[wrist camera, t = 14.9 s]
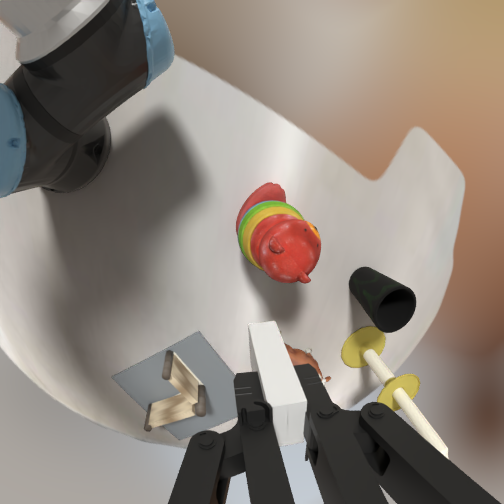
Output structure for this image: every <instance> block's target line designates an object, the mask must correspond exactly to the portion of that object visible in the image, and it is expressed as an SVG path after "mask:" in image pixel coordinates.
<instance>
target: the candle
mask: <svg viewBox="0 0 504 504" xmlns="http://www.w3.org/2000/svg"><path fill="white" fill-rule="evenodd" d="M384 346H385V336H384V333H383V332H382V331H380V330H379V329H378V328H377V327H372V326H368V327H364V328H360V329H359V330H357V331H356V332H354V333H353V334H351V335H350V337H349V338H348V339H347V340H346V341H345V343H344V345H343V348H342V354H341V358H342V359H343V361H344V363H345V364H346V365H348V366H350V367H353V368H360V367H363V366H367V365H369V366H370V367H371V369H372V370H373V371H374V373H375V374H376V376H377V377H378V378H379V380H380V381H381V383H382V384H383V385H384V388H383V389H382V391H381V393H380V394H379V396H378V398H377V402H380V403H384V404H385V405H387V406H388V407H389V408H391V409H392V410H393V411H396V410H399V409H402V410H403V411H404V413H405V414H406V416H407V417H408V418H409V420H410V421H411V423H412V424H413V426H414V427H415V428H416V430H417V431H418V433H419V434H420V435H421V436H422V437H423V438H425V439H426V440H427V441H428V442H429V443H430V444H431V445H433V446H434V447H435V448H436V449H437V450H438V451H439V452H441V453H442V454H443V455H444V456H445V457H446V458H448V448H447V446H446V445H445V444H444V442H443V441H442V440H441V438H440V437H439V436H438V434H437V433H436V432H435V430H434V429H433V428H432V426H431V425H430V424H429V422H428V421H427V420H426V418H425V417H424V416H423V414H422V413H421V412H420V410H419V409H418V408H417V406H416V405H415V404H414V403H413V401H412V399H413V398H414V397H415V395H416V393H417V392H418V390H419V386H420V381H419V378H418V377H417V376H416V375H414V374H404V375H402V376H399V377H397V378H396V377H395V376H394V375H393V374H392V372H391V371H390V370H389V369H388V367H387V366H386V365H385V364H384V362H383V361H382V360H381V358H380V357H379V355H380V354H381V353H382V351H383V348H384ZM448 459H449V458H448Z"/></svg>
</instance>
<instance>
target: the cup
mask: <svg viewBox="0 0 504 504" xmlns="http://www.w3.org/2000/svg"><path fill="white" fill-rule="evenodd" d="M349 288H350V290H351V292H352V293H353V295H354V296H355V297H356V299H357V300H358V301H359V303H360V304H361V306H362V307H363V308H364V310H365V311H366V313H367V314H368V316H369V317H370V318H371V320H372V321H373V323H374V324H375V325H376V327H377V328H378V329H379V330H380V331H382V332H385V333H391V332H395V331H397V330H399V329H401V328H402V327H404V326H405V325H406V324H407V323H408V322H409V321H410V319H411V318H412V316H413V314H414V311H415V308H416V297H415V294H414V292H413V291H412V290H411V289H410V288H408V287H406V286H404V285H402V284H400V283H399V282H397V281H395V280H393V279H391V278H389V277H387V276H385V275H383V274H381V273H379V272H377V271H375V270H373V269H372V268H369V267H361V268H359V269H357V270H356V271H355V272H354V273H353V274H352V276H351V277H350V280H349Z"/></svg>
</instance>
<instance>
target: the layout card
mask: <svg viewBox="0 0 504 504" xmlns="http://www.w3.org/2000/svg"><path fill="white" fill-rule="evenodd" d="M168 350H171V351H173V353H174V354H175V356H176V357H177V358H178V359H179V360H180V361H181V362H182V364H183V365H184V366H185V367H186V368H187V369H188V370H189V371H190V373H191V374H192V375H193V376H194V377H195V378H196V379H197V380H198V385H204V386H205V387H206V415H205V416H204V417H198V416H197V415H196V403H195V415H194V416H191V417H188V418H185V419H181V420H178V421H175V422H171V423H168V424H165V425H162V426H163V427H164V428H165V429H167V430H168V431H169V432H170V433H171V434H172V435H174V436H175V437H176V438H177V439H178V440H182V439H184V438H187V437H190V436H192V435H195V434H196V433H198V432H201V431H205V430H208V429H210V428H212V427H215V426H217V425H220V424H222V423H224V422H227V421H229V420H231V419H234V418H236V417H238V415H237V408H236V400H235V392H234V383H233V380H234V378H235V375H234V373H233V372H232V371H231V370H230V369H229V367H228V366H227V365H226V364H225V363H224V361H223V360H222V359H221V358H220V357H219V355H218V354H217V353H216V352H215V350H214V349H213V348H212V347H211V345H210V344H209V343H208V342H207V340H206V339H205V338H204V337H203V335H202V334H201V333H200V331H198V332H196V333H194V334H192V335H190V336H188V337H187V338H185V339H183V340H181V341H179V342H177V343H175V344H174V345H172V346H170V347H168V348H166V349H164V350H162V351H160V352H158V353H157V354H155V355H153V356H151V357H149V358H147V359H145V360H143V361H141V362H139V363H137V364H135V365H134V366H132V367H130V368H128V369H126V370H124V371H122V372H120V373H118V374H116V375H114V376H112V378H113V379H114V380H115V381H116V382H117V383H118V384H119V385H120V386H121V388H122V389H123V390H124V391H125V392H126V393H127V394H129V395H130V396H131V397H132V398H133V399H134V400H135V401H136V402H137V403H138V404H139V405H140V406H141V407H142V408H143V409H144V410H145V411H146V412H147V409H148V405H149V404H152V403H155V402H158V401H161V400H164V399H167V398H170V397H173V396H176V395H179V394H181V393H180V392H179V391H178V390H177V389H176V388H175V387H174V386H173V385H172V384H171V383H170V382H169V380H164V379H163V378H162V371H163V366H164V360H165V355H166V351H168Z"/></svg>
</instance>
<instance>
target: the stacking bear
mask: <svg viewBox="0 0 504 504" xmlns="http://www.w3.org/2000/svg"><path fill="white" fill-rule="evenodd" d="M236 232H237V235H238V242H239V246H240V248H241V251H242V253H243V254H244V256H245V257H246V258H247V259H248V261H249V262H251V263H252V264H253V265H254V266H256V267H257V268H259V269H261V270H263V271H265V272H266V274H267V275H268V276H269V277H271V278H272V279H274V280H276V281H278V282H282V283H293V282H297V281H300V282H301V283H309V282H310V281H311V279H310V278H309V277H308V275H309V274H310V273H311V272H312V270H313V269H314V268H315V266H316V264H317V262H318V260H319V256H320V252H321V240H320V236H319V233H318V231H317V228H316V227H315V226H313V225H312V224H311V223H309V222H307V221H305V220H304V219H303V217H302V216H301V214H300V213H299V212H298V211H297V210H296V209H295V208H294V207H292V206H291V205H289V204H286V197H285V191H284V190H283V189H282V188H281V187H280V185H279V184H273V183H266V184H264V185H263V186H261V187H259V188H258V189H257V190H256V191H254V192H253V193H252V194H251V195H250V196H249V197H248V199H247V200H246V201H245V203H244V204H243V206H242V208H241V210H240V212H239V214H238V217H237V221H236Z"/></svg>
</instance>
